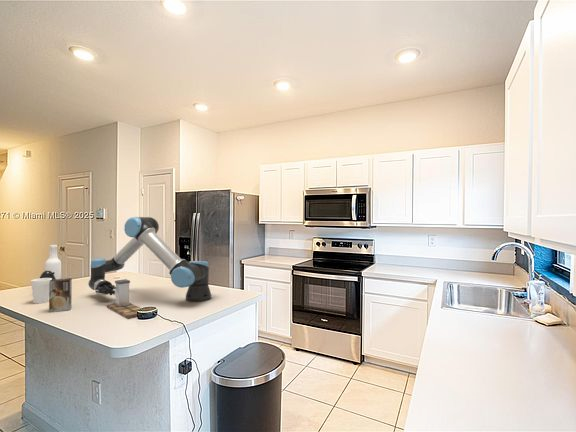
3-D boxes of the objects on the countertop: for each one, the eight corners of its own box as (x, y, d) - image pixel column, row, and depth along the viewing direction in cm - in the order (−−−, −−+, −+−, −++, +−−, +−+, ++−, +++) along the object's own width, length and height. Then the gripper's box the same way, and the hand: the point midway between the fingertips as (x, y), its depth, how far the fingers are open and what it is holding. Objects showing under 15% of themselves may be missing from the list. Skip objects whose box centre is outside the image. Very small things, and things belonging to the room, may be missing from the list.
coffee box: (72, 307, 166) (72, 277, 166) (70, 310, 161) (70, 279, 161) (51, 309, 162) (51, 279, 162) (48, 312, 156) (48, 281, 156)
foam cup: (26, 303, 172) (27, 280, 173) (44, 299, 181) (45, 277, 181) (37, 305, 169) (37, 281, 169) (55, 301, 177) (55, 278, 178)
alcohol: (53, 290, 201) (54, 245, 201) (40, 290, 201) (41, 245, 202) (64, 287, 210) (64, 244, 210) (51, 287, 210) (52, 244, 210)
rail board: (106, 307, 166) (106, 304, 166) (126, 303, 174) (126, 300, 174) (127, 319, 148) (128, 315, 148) (148, 314, 156) (148, 311, 156)
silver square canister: (114, 305, 165) (114, 280, 165) (125, 302, 169) (125, 279, 169) (118, 307, 161) (119, 282, 161) (129, 304, 166) (130, 280, 166)
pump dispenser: (45, 297, 186) (46, 272, 186) (32, 296, 188) (32, 271, 188) (61, 293, 196) (61, 269, 196) (48, 292, 198) (48, 268, 198)
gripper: (114, 290, 187) (130, 297, 171) (90, 294, 177) (105, 302, 161) (115, 278, 187) (131, 284, 171) (90, 281, 177) (105, 288, 162)
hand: (118, 293), depth 166 cm, fingers closed
